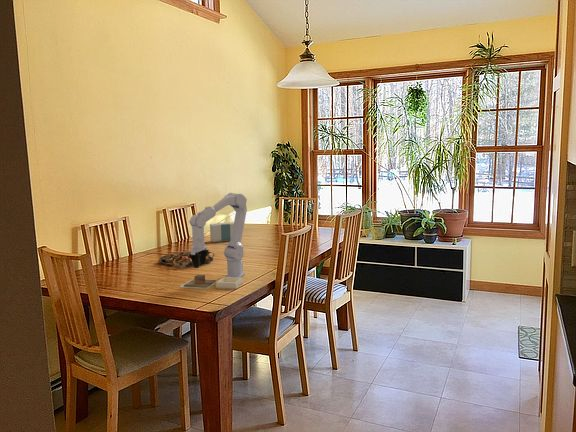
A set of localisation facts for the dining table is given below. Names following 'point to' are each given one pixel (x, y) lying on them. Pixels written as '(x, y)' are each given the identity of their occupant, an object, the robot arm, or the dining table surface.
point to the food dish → (182, 260)
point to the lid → (199, 282)
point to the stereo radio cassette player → (221, 231)
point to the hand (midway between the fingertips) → (199, 266)
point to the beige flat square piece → (197, 287)
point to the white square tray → (229, 283)
